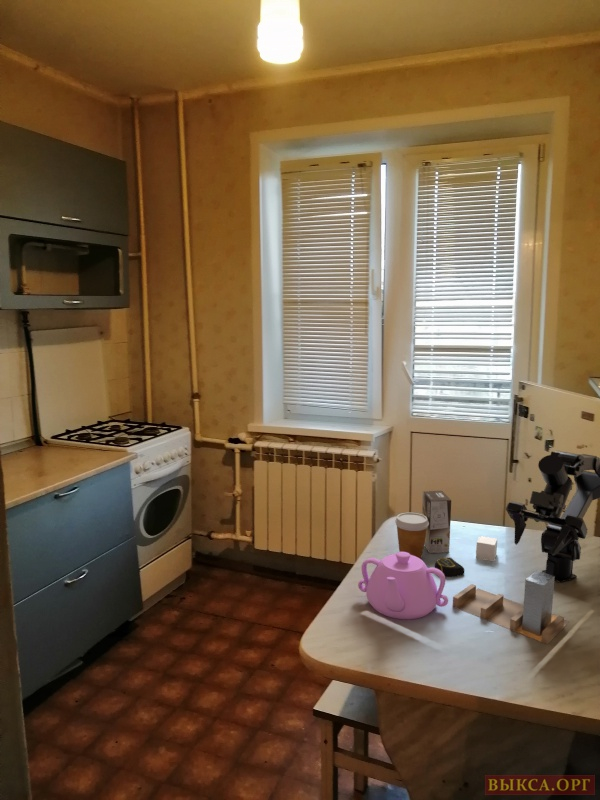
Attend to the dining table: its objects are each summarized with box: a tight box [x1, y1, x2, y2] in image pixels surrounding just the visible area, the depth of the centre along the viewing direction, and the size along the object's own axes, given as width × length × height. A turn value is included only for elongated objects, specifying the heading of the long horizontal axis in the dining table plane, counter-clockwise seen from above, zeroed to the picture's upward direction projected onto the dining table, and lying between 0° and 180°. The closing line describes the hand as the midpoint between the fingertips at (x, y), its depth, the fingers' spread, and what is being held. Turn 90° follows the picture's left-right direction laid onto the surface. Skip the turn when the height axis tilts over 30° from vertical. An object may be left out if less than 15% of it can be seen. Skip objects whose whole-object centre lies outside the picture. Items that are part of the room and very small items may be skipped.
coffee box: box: [421, 490, 452, 554], centre depth 181 cm, size 9×6×16 cm
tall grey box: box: [522, 570, 555, 636], centre depth 136 cm, size 6×4×12 cm, turn 136°
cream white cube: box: [475, 535, 498, 562], centre depth 176 cm, size 5×5×5 cm
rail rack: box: [452, 583, 570, 645], centre depth 143 cm, size 12×23×4 cm, turn 46°
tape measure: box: [434, 557, 465, 578], centre depth 164 cm, size 7×7×4 cm
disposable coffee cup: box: [394, 512, 429, 560], centre depth 174 cm, size 10×10×12 cm
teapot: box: [357, 551, 449, 620], centre depth 145 cm, size 22×22×14 cm
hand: (533, 549), depth 148 cm, fingers open, 9 cm apart
